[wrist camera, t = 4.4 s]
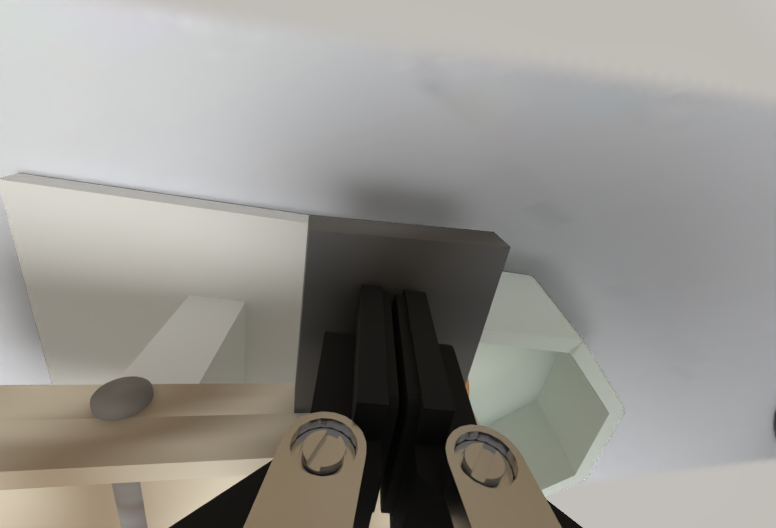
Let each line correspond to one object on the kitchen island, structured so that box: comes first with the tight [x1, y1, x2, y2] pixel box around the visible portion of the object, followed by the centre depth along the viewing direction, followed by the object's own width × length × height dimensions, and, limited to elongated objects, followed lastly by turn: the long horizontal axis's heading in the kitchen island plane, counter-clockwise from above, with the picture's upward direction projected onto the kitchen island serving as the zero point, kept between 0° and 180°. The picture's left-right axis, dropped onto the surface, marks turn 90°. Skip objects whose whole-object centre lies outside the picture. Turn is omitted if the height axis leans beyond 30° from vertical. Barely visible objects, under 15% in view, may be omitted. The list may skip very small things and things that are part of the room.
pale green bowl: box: [468, 272, 625, 498], centre depth 18 cm, size 10×10×5 cm
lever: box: [0, 215, 510, 528], centre depth 10 cm, size 20×13×3 cm, turn 81°
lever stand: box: [0, 173, 309, 385], centre depth 16 cm, size 16×13×7 cm
